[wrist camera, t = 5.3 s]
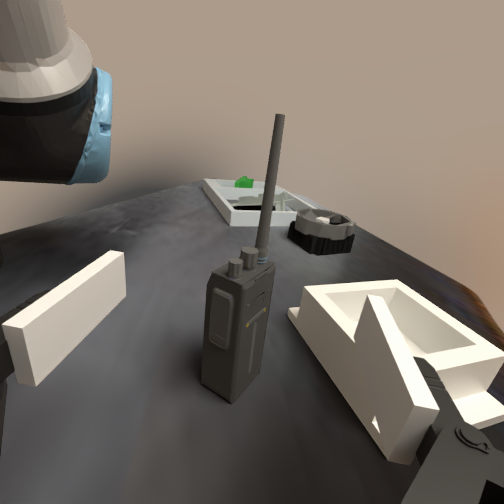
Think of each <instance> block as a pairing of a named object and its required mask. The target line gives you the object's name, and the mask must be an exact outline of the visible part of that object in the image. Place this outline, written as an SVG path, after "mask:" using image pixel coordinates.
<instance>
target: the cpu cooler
mask: <svg viewBox="0 0 504 504" xmlns="http://www.w3.org/2000/svg"><path fill="white" fill-rule="evenodd" d="M355 224H356V223H354V222H352V221H351V220H350V219H349V218H348V217H347V216H344V215H341V214H338V213H335V212H332V211H327V210H322V209H311V208H305V209H299V210H298V211H297V215H296V221H292V222H290V227H289V233H288V238H289V239H290V240H292V241H293V242H294V243H296V244H297V245H299V246H300V247H301V248H303V249H304V250H305V251H307V252H308V253H310V254H316V255H317V256H318V255H328V254H338V253H348V252H349V253H350V252H351V248H352V244H353V240H354V237H355V234H353V232H354V228H355Z"/></svg>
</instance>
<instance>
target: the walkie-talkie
mask: <svg viewBox="0 0 504 504" xmlns="http://www.w3.org/2000/svg"><path fill="white" fill-rule="evenodd" d="M284 119H285V115H281V114H276V116H275V123H274V129H273V136H272V142H271V149H270V155H269V161H268V168H267V174H266V180H265V187H264V193H263V200H262V206H261V212H260V219H259V225H258V232H257V238H256V244H255V247H254V248H253V247H244V248H241V255H240V257H239V258H231V259H229V263H227V264H226V265H224V266H222V267H220V268H218V269H216V270H214V271H212V274H211V276H210V279H209V281H208V283H207V291H206V307H205V323H204V339H203V355H202V371H201V383H202V384H203V385H205V386H206V387H208V388H209V389H211V390H213V391H214V392H216V393H217V394H219V395H220V396H222V397H223V398H225V399H226V400H228V401H229V402H231V403H234V402H235V401H236V399H237V398H238V397H239V396H240V395H241V393H242V392H243V391H244V390H245V389H246V388H247V386H248V385H249V384H250V383H251V382H252V380H253V379H254V378H255V377H256V376H257V374H258V373H259V372H260V366H261V359H262V352H263V346H264V339H265V333H266V327H267V320H268V314H269V307H270V301H271V294H272V288H273V281H274V275H275V268H276V267H275V263H273V262H270V261H267V252H268V249H267V246H268V238H269V231H270V223H271V216H272V209H273V201H274V194H275V186H276V179H277V171H278V164H279V156H280V149H281V142H282V134H283V127H284Z"/></svg>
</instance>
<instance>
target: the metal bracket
mask: <svg viewBox="0 0 504 504" xmlns="http://www.w3.org/2000/svg"><path fill="white" fill-rule="evenodd" d="M238 200H239V203H234V204H230V205H231V206H251V205H262V200H263V194H258V197H255V196H242V197H239V198H238ZM289 200H294V199H287V193H286V192H282V193H281V194H279V195H278V194H274V201H273V204H274V203H275V211H285V201H289ZM277 208H278V209H277Z"/></svg>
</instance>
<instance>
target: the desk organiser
mask: <svg viewBox="0 0 504 504" xmlns="http://www.w3.org/2000/svg"><path fill="white" fill-rule="evenodd" d="M235 182H236V181H235V180H218V179H204V180H203V190H204V191H205V193H206V194H207V196H208V197H209V198H210V200H211V201H212V202H213V204H214V205H215V206H216V208H217V209H218V210H219V212H220V213H221V215H222V216H223V217H224V219H225V220H226V221H227V223H228V224H229V225H230V226H258V225H259V219H260V212H261V211H254V210H235V209H234V208H233V207H232V206H231V205H230V204H229V203H228V202H227V200H238V198H239V197H242V196H255V197H258V194H263V193H264V187H265V182H253V188H236V187H235ZM282 192H286V193H287V199H294V200H289V201H285V204H286V205H288V206H289V207H290V208H292V209H293V210H295V211H272V216H271V223H270V226H290V222H292V221H296V215H297V211H298V210H299V209H305V208H311V209H317V208H315V207H313V206H312V205H310V204H308V203H307V202H305V201H303V200H301V199H300V198H298V197H296V196H295V195H293V194H291V193H290V192H288V191H286V190H284V189H283V188H281V187H279V186H278V185H276V186H275V194H278V195H279V194H281V193H282ZM226 199H227V200H226Z"/></svg>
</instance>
